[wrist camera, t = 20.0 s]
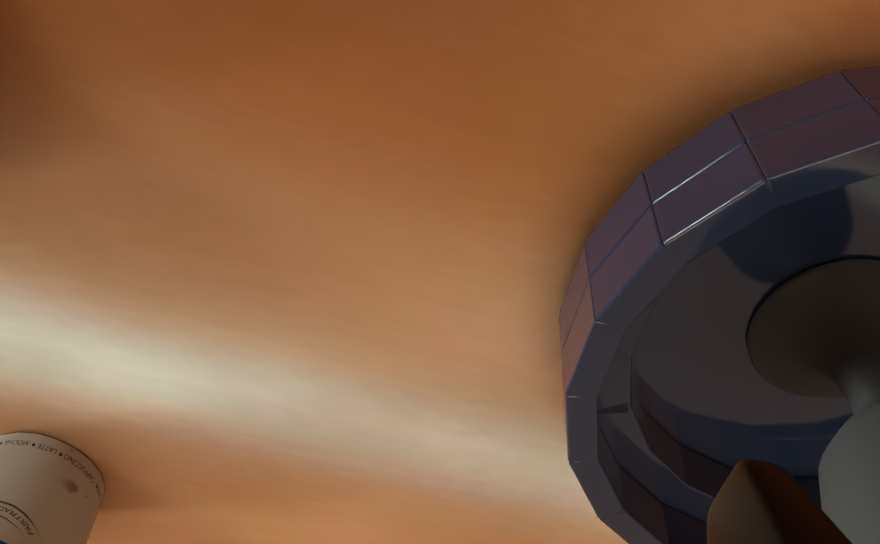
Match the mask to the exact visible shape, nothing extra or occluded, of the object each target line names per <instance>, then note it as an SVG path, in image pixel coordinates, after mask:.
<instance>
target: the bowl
mask: <svg viewBox="0 0 880 544" xmlns="http://www.w3.org/2000/svg"><path fill="white" fill-rule="evenodd" d="M848 259H871V260H880V67H868V68H857V69H845V70H841V71H840V72H834V73H832V74H829V75H826V76H823V77H821V78H818V79H815V80H812V81H809V82H807V83H804V84H801V85H798V86H796V87H793V88H790V89H787V90H785V91H782V92H779V93H776V94H774V95H771V96H768V97H765V98H763V99H760V100H757V101H754V102H752V103H749V104H746V105H743V106H741V107H738V108H735V109H733V110H732V111H731V113H730V112H728V113H726V114H724V115H723V116H722V117H720V118H719V119H717V120H716V121H714V122H713V123H711V124H710V125H709V126H707V127H706V128H704V129H703V130H701V131H700V132H698V133H697V134H696V135H694V136H693V137H691V138H690V139H688V140H687V141H686V142H684V143H683V144H681V145H680V146H678V147H677V148H675V149H674V150H673V151H671V152H670V153H668V154H667V155H665V156H664V157H662V158H661V159H660V160H658V161H657V162H655V163H654V164H652V165H651V166H649V167H648V168H647V169H645V171H644V172H641V173H640V174H639V175H638V177H637V178H636V179H635V180H634V182H633V183H632V184H631V185H630V186H629V188H628V189H627V190H626V191H625V193H624V194H623V195H622V196H621V198H620V199H619V200H618V201H617V203H616V204H615V205H614V206H613V207H612V209H611V210H610V211H609V212H608V214H607V215H606V216H605V217H604V219H603V220H602V221H601V222H600V224H599V225H598V226H597V227H596V228H595V230H594V231H593V232H592V233H591V235H590V236H589V237H588V238H587V240H586V242H585V243H584V245H583V248H582V251H581V253H580V256H579V259H578V262H577V265H576V267H575V270H574V273H573V276H572V278H571V281H570V284H569V287H568V290H567V292H566V295H565V298H564V301H563V304H562V306H561V309H560V316H559V322H560V341H561V361H562V380H563V394H564V409H565V424H566V438H567V453H568V460H569V464H570V466H571V468H572V470H573V472H574V473H575V475H576V477H577V479H578V481H579V483H580V485H581V487H582V488H583V490H584V492H585V494H586V496H587V498H588V500H589V501H590V503H591V505H592V507H593V509H594V511H595V513H596V515H597V516H598V518H600V520H601V521H602V522H604V523H605V524H606V525H607V526H608V527H609V528H611V529H612V530H613V531H614V532H615V533H617V534H618V535H619V536H620V537H621V538H623V539H624V540H625V541H626V542H627V543H628V544H708V542H707V517H708V512H709V509H710V506H711V504H712V502H713V500H714V499H715V497H716V495H717V494H718V492H719V491H720V489H721V487H722V486H723V484H724V482H725V481H726V479H727V477H728V476H729V474H730V473H731V471H732V469H733V468H734V466H735V465H736V464H737V462H739V461H740V460H742V459H746V458H750V459H755V460H760V461H765V462H770V463H775V464H778V465H780V466H782V467H783V468H784V469H785V470H787V471H788V472H789V474H790V475H791V476H792V477H793V478H794V479H795V480H796V481H797V482H798V484H799V485H800V486H801V487H802V488H803V489H804V490H805V491H806V492H807V494H808V495H809V496H810V497H811V498H812V499H813V500H814V501H815V502H816V504H817V505H818V506H819V507H820V508H821V509H822V507H821V497H820V487H819V475H818V467H819V464H820V461H821V458H822V455H823V453H824V451H825V450H826V448H827V446H828V444H829V443H830V442H831V440H832V439H833V438H834V436H835V435H836V434H837V432H838V431H839V429H840V428H841V427H842V426H843V425H844V424H845V423H846V421H847V420H848V419H849V418H850V417H851V416H853V415H854V414H853V412H852V410H851V408H850V405H849V403H848V401H847V399H846V397H845V396H844V397H836V398H823V397H809V396H799V395H796V394H793V393H789V392H786V391H784V390H782V389H779V388H777V387H775V386H773V385H771V384H770V383H769V382H768V381H767V380H766V379H764V378H763V377H762V376H761V375H760V374H759V373H758V371H757V370H756V369H755V368H754V366H753V365H752V362H751V359H750V356H749V353H748V347H747V336H748V332H749V328H750V325H751V322H752V320H753V317H754V315H755V313H756V311H757V310H758V309H759V308H760V306H761V305H762V304H763V302H764V301H765V300H766V299H767V298H768V297H769V296H770V295H771V294H772V293H773V292H774V291H775V290H776V289H777V288H778V287H779V286H781V285H783V284H784V283H786V282H787V281H789V280H790V279H792V278H793V277H795V276H797V275H799V274H801V273H803V272H805V271H807V270H809V269H811V268H814V267H818V266H821V265H825V264H828V263H832V262H837V261H843V260H848Z"/></svg>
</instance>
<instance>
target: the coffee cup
mask: <svg viewBox="0 0 880 544" xmlns="http://www.w3.org/2000/svg"><path fill="white" fill-rule="evenodd" d="M104 488H105V485H104V482H103V479H102V476H101V473H100V472H99V471H98V469H97V468H96V467H95V465H94V464H93V463H92V462H91V460H89V459H88V458H87V457H86V456H84V455H83V454H82V453H81V452H79V451H78V450H77V449H75V448H73V447H71V446H69V445H67V444H65V443H63V442H61V441H59V440H57V439H54V438H51V437H47V436H43V435H40V434H35V433H22V432H16V433H10V434H4V435H0V544H86V543H87V541H88V538H89V535H90V532H91V530H92V527H93V524H94V521H95V518H96V516H97V513H98V510H99V507H100V505H101V502H102V499H103V495H104Z"/></svg>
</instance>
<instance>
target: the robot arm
mask: <svg viewBox="0 0 880 544" xmlns="http://www.w3.org/2000/svg"><path fill="white" fill-rule="evenodd" d="M707 542H708V544H852V542H851V541H850V540H849V539H848V538H847V537H846V536H845V535H844V534H843V532H842V531H841V530H840V529H839V528H838V527H837V526H836V525H835V524H834V522H833V521H832V520H831V519H830V518H829V517H828V516H827V515H826V514H825V512H824V511H823V510H822V509H821V508H820V507H819V506H818V505H817V504H816V502H815V501H814V500H813V499H812V498H811V497H810V496H809V495H808V494H807V492H806V491H805V490H804V489H803V488H802V487H801V486H800V485H799V484H798V482H797V481H796V480H795V479H794V478H793V477H792V476H791V475H790V474H789V472H788V471H787V470H785V469H784V468H783V467H782V466H780V465H778V464H775V463H770V462H765V461H760V460H755V459H750V458H746V459H742V460H740V461H739V462H737V464H736V465H735V466H734V468H733V469H732V471H731V473H730V474H729V476H728V477H727V479H726V481H725V482H724V484H723V486H722V487H721V489H720V491H719V492H718V494H717V495H716V497H715V499H714V500H713V502H712V504H711V506H710V509H709V512H708V517H707Z"/></svg>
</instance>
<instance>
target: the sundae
mask: <svg viewBox="0 0 880 544" xmlns="http://www.w3.org/2000/svg"><path fill="white" fill-rule="evenodd" d="M747 347H748V353H749V356H750V359H751V362H752V365H753V366H754V368H755V369H756V370H757V371H758V373H759V374H760V375H761V376H762V377H763V378H764V379H766V380H767V381H768V382H769V383H770V384H771V385H773V386H775V387H777V388H779V389H782V390H784V391H786V392H789V393H793V394H796V395H799V396H809V397H823V398H836V397H844V396H845V397H846V399H847V401H848V403H849V405H850V408H851V410H852V412H853V414H854V415H853V416H851V417H850V418H849V419H848V420H847V421H846V423H845V424H844V425H843V426H842V427H841V428H840V429H839V431H838V432H837V434H836V435H835V436H834V438H833V439H832V440H831V442H830V443H829V444H828V446H827V448H826V450H825V451H824V453H823V455H822V458H821V461H820V464H819V467H818V475H819V487H820V497H821V507H822V510H823V511H824V512H825V514H826V515H827V516H828V517H829V518H830V519H831V520H832V521H833V522H834V524H835V525H836V526H837V527H838V528H839V529H840V530H841V531H842V532H843V534H844V535H845V536H846V537H847V538H848V539H849V540H850V541H851V542H852V544H880V260H871V259H848V260H843V261H837V262H832V263H828V264H825V265H821V266H818V267H814V268H811V269H809V270H807V271H805V272H803V273H801V274H799V275H797V276H795V277H793V278H792V279H790V280H789V281H787V282H786V283H784V284H783V285H781V286H779V287H778V288H777V289H776V290H775V291H774V292H773V293H772V294H771V295H770V296H769V297H768V298H767V299H766V300H765V301H764V302H763V304H762V305H761V306H760V308H759V309H758V310H757V311H756V313H755V315H754V317H753V320H752V322H751V325H750V328H749V332H748V336H747Z"/></svg>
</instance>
